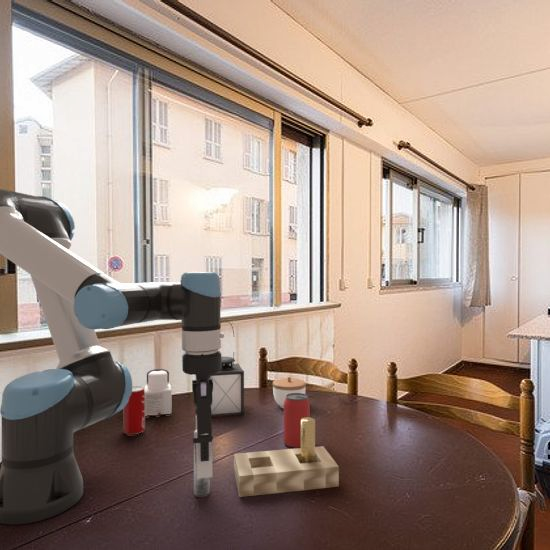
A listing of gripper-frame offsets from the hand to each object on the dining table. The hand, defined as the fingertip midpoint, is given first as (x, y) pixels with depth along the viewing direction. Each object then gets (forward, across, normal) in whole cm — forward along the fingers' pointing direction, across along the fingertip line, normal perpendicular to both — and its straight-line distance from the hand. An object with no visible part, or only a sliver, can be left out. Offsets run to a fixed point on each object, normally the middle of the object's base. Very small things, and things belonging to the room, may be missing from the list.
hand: (203, 460), depth 80 cm
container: (+6, +50, +12) cm, 52 cm away
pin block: (+7, +2, -16) cm, 18 cm away
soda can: (+6, +35, +18) cm, 40 cm away
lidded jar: (+7, +48, -28) cm, 56 cm away
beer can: (+7, +19, -24) cm, 31 cm away
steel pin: (+6, 0, 0) cm, 6 cm away
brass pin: (+7, +2, -22) cm, 23 cm away
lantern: (+6, +48, -8) cm, 49 cm away
